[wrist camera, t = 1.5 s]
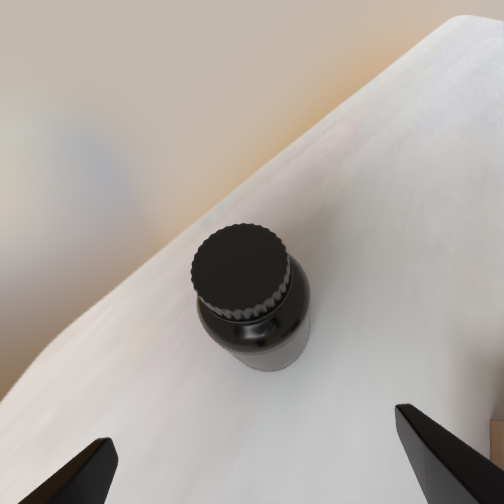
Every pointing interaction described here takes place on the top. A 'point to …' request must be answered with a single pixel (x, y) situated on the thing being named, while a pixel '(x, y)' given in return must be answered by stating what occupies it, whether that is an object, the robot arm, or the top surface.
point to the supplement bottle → (252, 296)
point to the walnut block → (497, 442)
